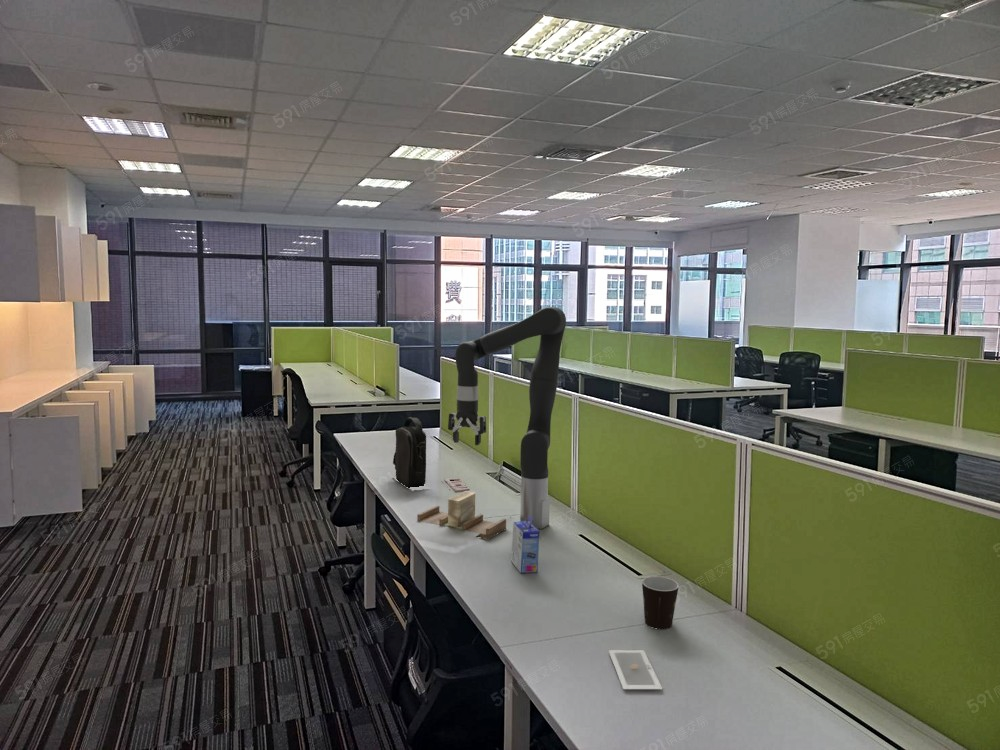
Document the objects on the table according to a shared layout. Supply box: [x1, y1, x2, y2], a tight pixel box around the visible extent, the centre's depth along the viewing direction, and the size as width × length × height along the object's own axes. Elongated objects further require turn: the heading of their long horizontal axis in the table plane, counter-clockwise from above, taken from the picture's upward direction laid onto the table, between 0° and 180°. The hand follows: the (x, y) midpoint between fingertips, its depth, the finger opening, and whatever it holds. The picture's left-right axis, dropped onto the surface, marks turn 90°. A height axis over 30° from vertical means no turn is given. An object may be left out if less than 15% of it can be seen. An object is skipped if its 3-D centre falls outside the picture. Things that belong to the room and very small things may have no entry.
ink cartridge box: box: [510, 516, 540, 574], centre depth 196 cm, size 10×6×14 cm, turn 15°
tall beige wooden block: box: [447, 491, 476, 528], centre depth 229 cm, size 4×11×9 cm, turn 152°
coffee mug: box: [641, 575, 679, 630], centre depth 162 cm, size 12×9×10 cm
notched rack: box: [416, 505, 507, 540], centre depth 230 cm, size 28×12×4 cm, turn 62°
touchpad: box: [608, 649, 663, 690], centre depth 142 cm, size 8×15×2 cm, turn 2°
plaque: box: [444, 477, 475, 493], centre depth 277 cm, size 34×1×10 cm
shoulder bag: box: [392, 416, 427, 488], centre depth 282 cm, size 23×9×28 cm, turn 30°
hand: (466, 443), depth 240 cm, fingers open, 8 cm apart
